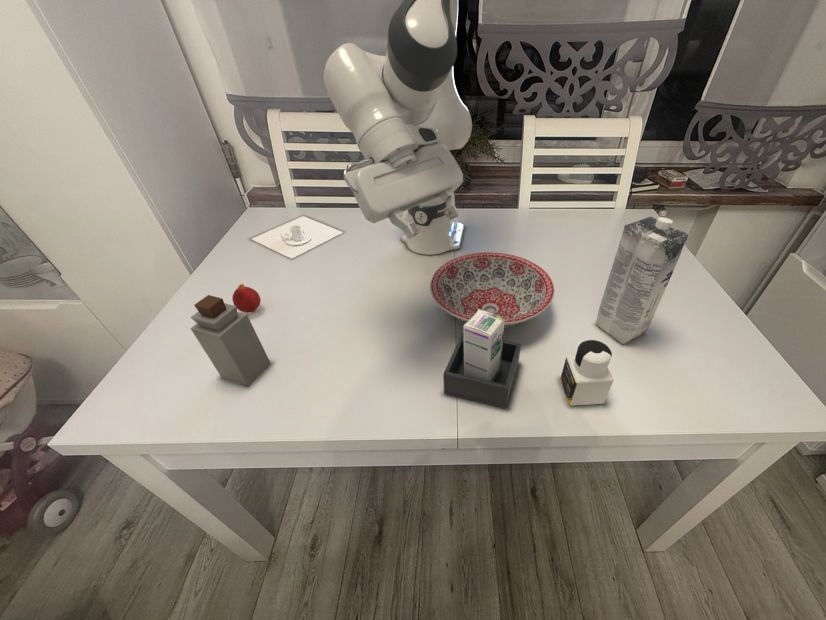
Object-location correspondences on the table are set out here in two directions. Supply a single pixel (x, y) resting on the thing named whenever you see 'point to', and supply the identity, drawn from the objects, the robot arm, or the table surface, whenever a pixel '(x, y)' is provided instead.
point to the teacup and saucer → (297, 236)
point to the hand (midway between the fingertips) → (435, 226)
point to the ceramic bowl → (492, 287)
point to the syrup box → (483, 345)
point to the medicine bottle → (587, 374)
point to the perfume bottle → (229, 340)
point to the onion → (246, 299)
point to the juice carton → (639, 276)
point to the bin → (479, 388)
